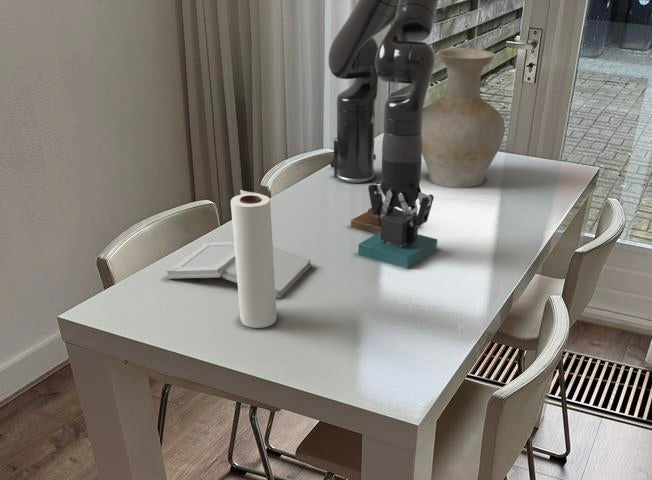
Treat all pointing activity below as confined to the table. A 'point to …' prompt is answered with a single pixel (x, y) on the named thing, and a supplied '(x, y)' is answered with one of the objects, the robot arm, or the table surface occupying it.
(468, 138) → the vase
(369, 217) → the switch box
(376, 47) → the robot arm
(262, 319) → the paper towel roll
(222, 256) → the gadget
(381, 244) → the teal square frame
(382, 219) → the black block
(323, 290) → the table surface
